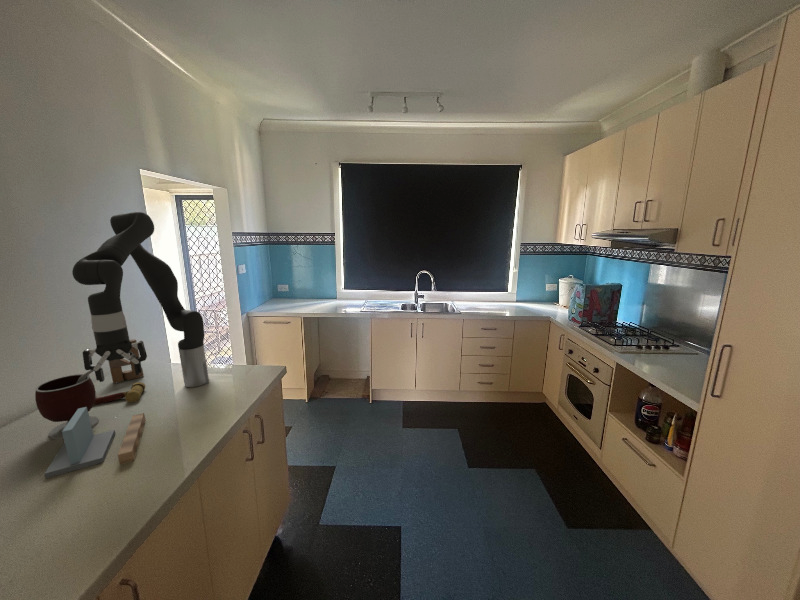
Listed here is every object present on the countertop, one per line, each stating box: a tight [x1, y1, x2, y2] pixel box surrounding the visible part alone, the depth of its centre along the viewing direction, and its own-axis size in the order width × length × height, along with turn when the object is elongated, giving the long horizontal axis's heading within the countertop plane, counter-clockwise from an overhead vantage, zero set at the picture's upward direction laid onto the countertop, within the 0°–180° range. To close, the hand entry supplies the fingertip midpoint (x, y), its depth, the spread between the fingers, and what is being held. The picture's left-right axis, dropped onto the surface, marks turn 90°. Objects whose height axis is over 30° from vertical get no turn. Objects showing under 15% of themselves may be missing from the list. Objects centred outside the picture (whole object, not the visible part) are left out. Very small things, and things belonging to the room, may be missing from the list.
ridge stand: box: [43, 407, 116, 479], centre depth 97 cm, size 12×16×12 cm
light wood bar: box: [117, 412, 146, 466], centre depth 104 cm, size 24×3×4 cm, turn 31°
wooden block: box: [107, 338, 144, 384], centre depth 146 cm, size 4×11×18 cm, turn 128°
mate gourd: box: [34, 370, 100, 440], centre depth 109 cm, size 16×14×20 cm
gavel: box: [93, 381, 146, 406], centre depth 128 cm, size 21×5×10 cm
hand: (120, 377), depth 99 cm, fingers open, 8 cm apart
